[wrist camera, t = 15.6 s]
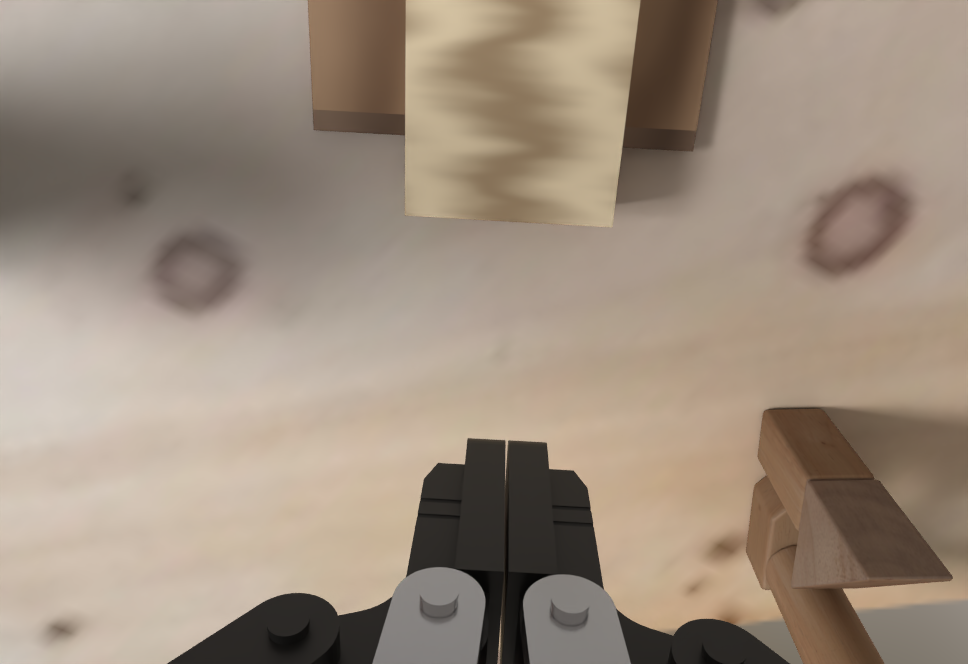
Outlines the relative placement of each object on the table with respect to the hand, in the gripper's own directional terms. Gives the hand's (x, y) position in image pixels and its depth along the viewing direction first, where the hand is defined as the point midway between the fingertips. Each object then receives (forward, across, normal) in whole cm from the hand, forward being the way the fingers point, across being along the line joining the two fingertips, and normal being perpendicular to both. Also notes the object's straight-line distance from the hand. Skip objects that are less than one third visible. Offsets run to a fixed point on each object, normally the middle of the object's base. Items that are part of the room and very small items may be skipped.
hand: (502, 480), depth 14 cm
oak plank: (+24, 0, +1) cm, 24 cm away
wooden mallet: (+27, -18, +18) cm, 37 cm away
